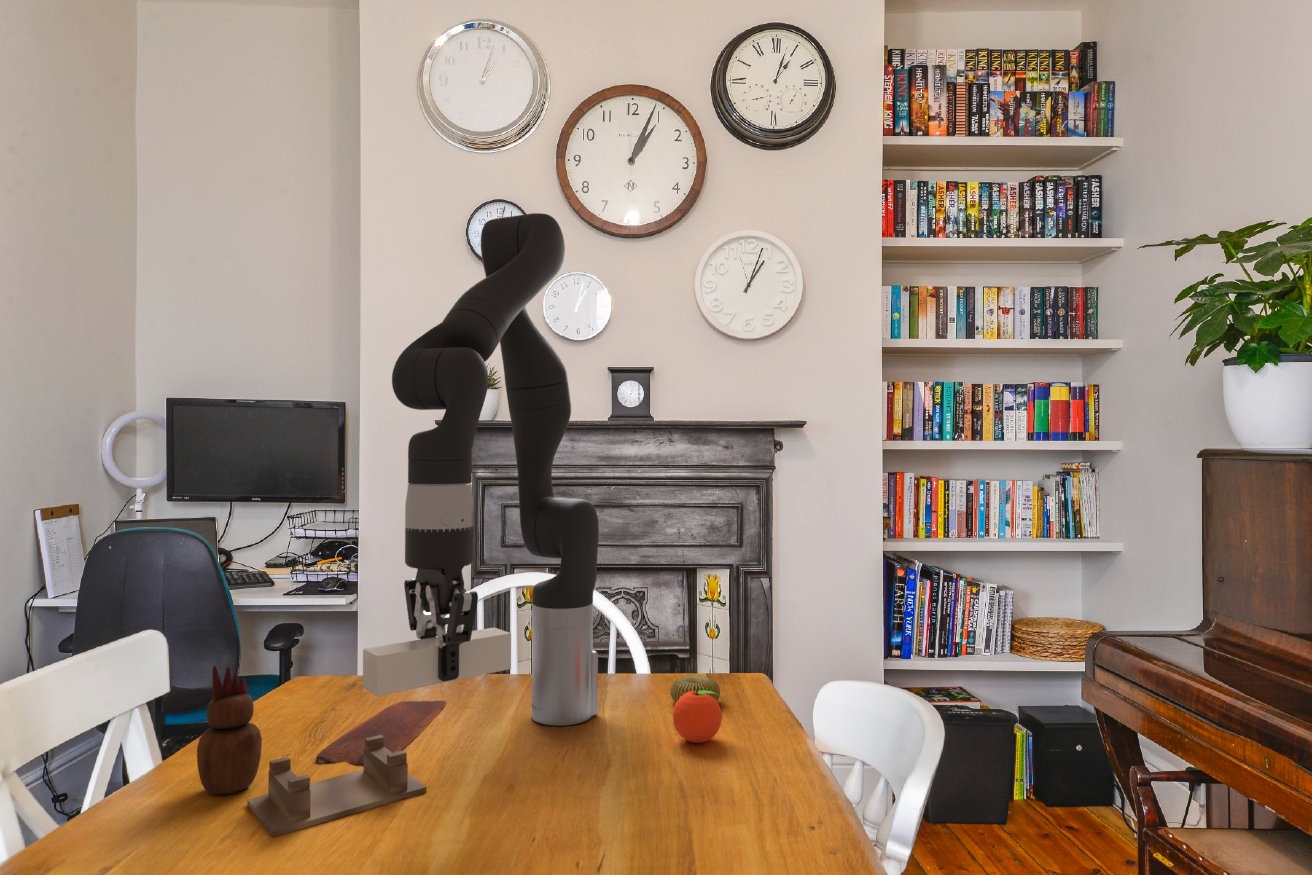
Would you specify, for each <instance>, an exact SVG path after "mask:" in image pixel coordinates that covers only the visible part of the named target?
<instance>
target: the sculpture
mask: <svg viewBox="0 0 1312 875" xmlns="http://www.w3.org/2000/svg"><path fill="white" fill-rule="evenodd" d="M696 690H698V691H702V690H706V691H712V692H714V693H716V694H712V693H708V694H710V695H711V696H713V697H714V698H715V700H716V701H717V702H718V701H719V699H720V698H721V697H720V696H721V689H720V686H719V684H718V682H717V681H715V680H714V679H713V678H711V677H708V676H704V675H697V674H694V675H684V676H681V677H678V678H677V679H675V681H673V683H672V685H671V687H670V696H671V699H672V700H673V702H674V703H675V704H676V702H677V701H678V700H679V698H680V697H681V696H683V695H684V694H685V693H687V692H689V691H696ZM717 694H718V695H717ZM719 695H720V696H719Z"/></svg>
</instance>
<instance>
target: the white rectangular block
mask: <svg viewBox="0 0 1312 875" xmlns="http://www.w3.org/2000/svg"><path fill="white" fill-rule="evenodd" d="M438 647H439V645H438V638H437V636H436V637H433V638H427V639H415V640H409V641H403V642H398V643H392V644H386V645H385V644H384V645H378V646H372V647H367V648H362V689H364V690H366V691H367V692H370V694H373V695H374V696H376V697H381V696H385V695H390V694H395V693H400V692H404V691H409V690H414V689H420V688H426V687H429V686H435V685H438V684H444V683H448V682H454V681H458V680H459V681H460V680H463V679H469V678H473V677H479V676H483V675H484V676H485V675H488V674H489V675H490V674H494V673H498V672H503V671H507V670H511V669H512V633H511V632H508V631H506V630H503V629H500V628H497V627H489V628H482V629H476V630H472V635H471V640H470V641H468V642H464V643H462V644H460V646H459V676H458V678H457V679H454V680H449V681H441V680H439V678H438Z"/></svg>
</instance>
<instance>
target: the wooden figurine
mask: <svg viewBox="0 0 1312 875" xmlns="http://www.w3.org/2000/svg"><path fill="white" fill-rule="evenodd" d="M225 669H226V670H225V673H224V678H223V683H222V681H221V678H220V675H219V674H220V673H219V671H218V668H217V666H216V665H213V666H212V686H211V687H212V689H211V691H212V695H211V696H212V699H211V700H210V701H209V702H208V705H207V708H206V722H207V725H208V726H209V727H210V728H208V729H206V730H204V732H203V733H202V735H201V736H199V739H198V740H199V741H198V743H197V747H196V762H197V765H196V766H197V771H198V775H199V780H200V782H201V785H202V786H203V789H204V790H205V791H206V792H207V793H208V794H212V795H231V794H235V793H238V792H240V791H243V790H245V789H247V788H249V787H250V786H251V785H252V784H253V782H254V781H255V779H256V777H257V775H258V771H259V767H260V764H261V757H262V744H263V743H262V742H263V739H262V738H263V737H262V733H261V730H260V728H259V727H258V726H257V725H256V723H255V724H254V723H252V722H250V721H251V720H252V718H253V716H254V709H255V708H254V706H255V705H254V701H253V698H252V696H250V694H249V693H248V692H249V691H248V687H247V682H246V679H244V678H242V679H241V681H240V680H239V675H238V674H237V673H235V674H234V677H233V681H232V674H231V669H230V666H227V667H226V668H225Z"/></svg>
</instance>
